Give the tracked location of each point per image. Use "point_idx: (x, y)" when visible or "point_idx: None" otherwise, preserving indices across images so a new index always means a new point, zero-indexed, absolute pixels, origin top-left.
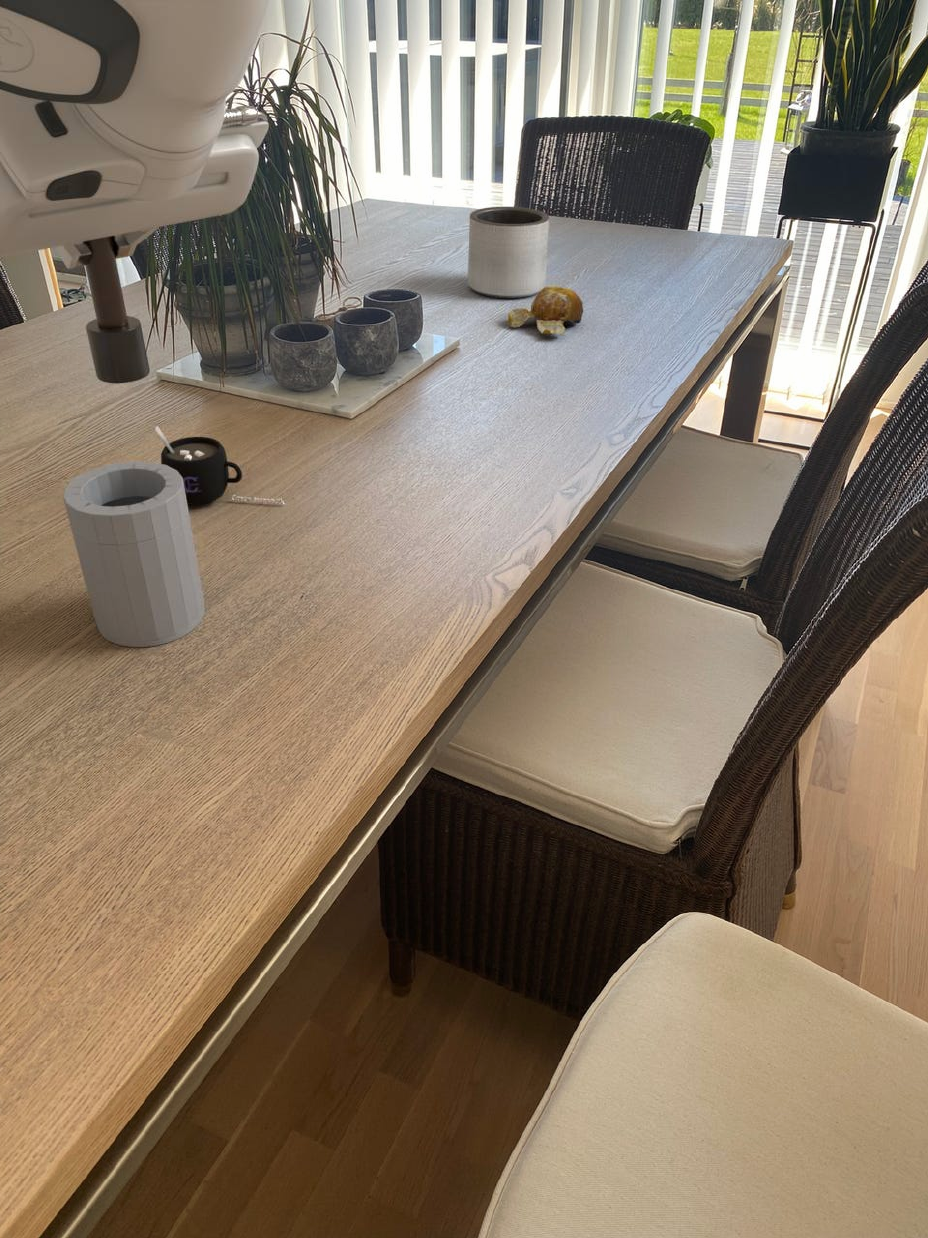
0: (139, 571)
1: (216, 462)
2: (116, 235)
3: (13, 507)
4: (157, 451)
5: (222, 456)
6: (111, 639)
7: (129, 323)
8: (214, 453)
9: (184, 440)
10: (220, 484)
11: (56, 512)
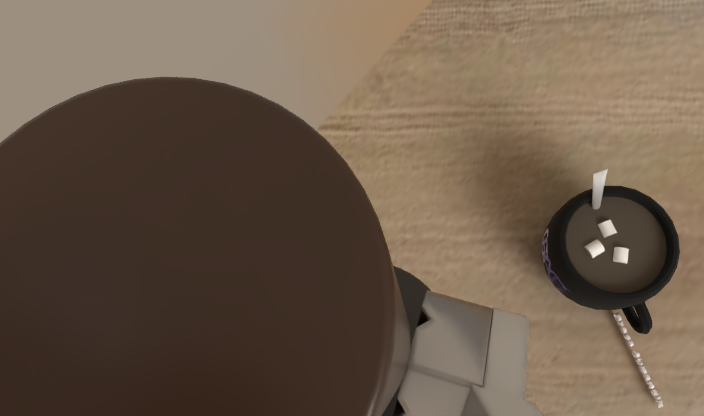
0: None
1: (616, 305)
2: (418, 411)
3: (402, 39)
4: (671, 77)
5: (640, 301)
6: None
7: (396, 391)
8: (641, 278)
9: (639, 200)
10: (603, 309)
11: (425, 100)
